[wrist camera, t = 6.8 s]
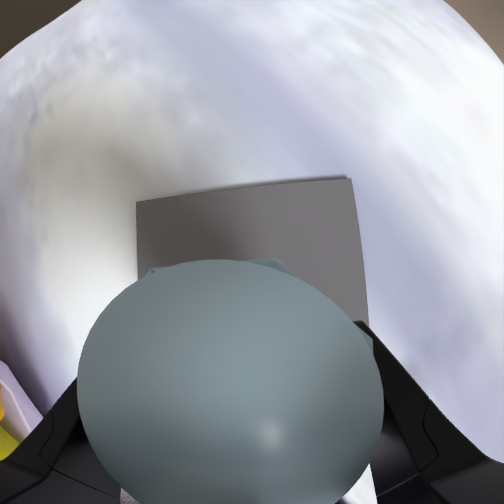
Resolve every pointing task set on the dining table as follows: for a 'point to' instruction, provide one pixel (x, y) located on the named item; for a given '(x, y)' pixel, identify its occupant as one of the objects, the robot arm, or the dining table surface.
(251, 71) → the dining table surface
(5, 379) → the fruit bowl
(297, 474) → the dome-topped octagonal prism
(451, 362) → the dining table surface
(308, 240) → the placemat
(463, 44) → the dining table surface
